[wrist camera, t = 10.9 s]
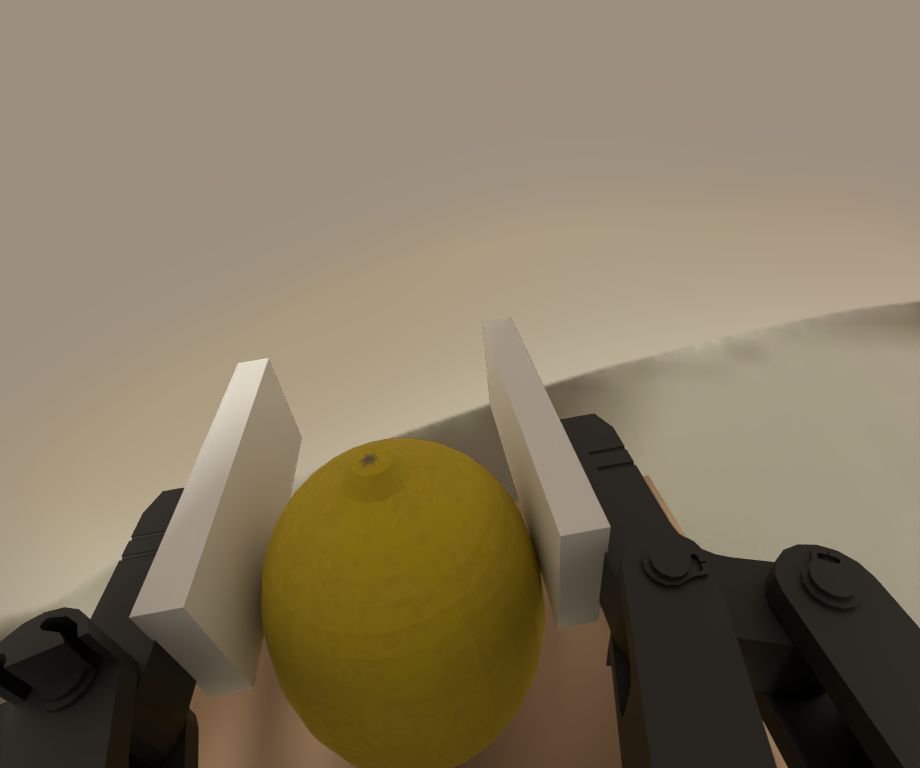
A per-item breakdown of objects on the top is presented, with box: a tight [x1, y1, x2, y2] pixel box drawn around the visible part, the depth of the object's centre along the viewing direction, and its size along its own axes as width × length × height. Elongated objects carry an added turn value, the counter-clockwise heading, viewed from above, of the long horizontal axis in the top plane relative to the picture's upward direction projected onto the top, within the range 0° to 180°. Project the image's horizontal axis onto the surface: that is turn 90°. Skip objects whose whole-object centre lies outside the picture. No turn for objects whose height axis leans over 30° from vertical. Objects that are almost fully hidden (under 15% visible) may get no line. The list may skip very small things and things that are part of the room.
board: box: [189, 476, 788, 768], centre depth 14 cm, size 18×14×2 cm
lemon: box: [261, 438, 546, 768], centre depth 10 cm, size 6×6×8 cm
